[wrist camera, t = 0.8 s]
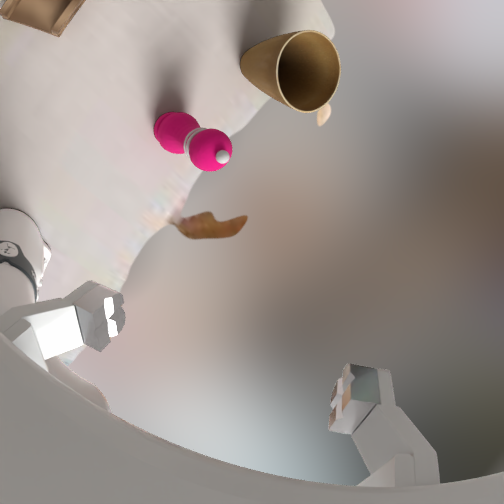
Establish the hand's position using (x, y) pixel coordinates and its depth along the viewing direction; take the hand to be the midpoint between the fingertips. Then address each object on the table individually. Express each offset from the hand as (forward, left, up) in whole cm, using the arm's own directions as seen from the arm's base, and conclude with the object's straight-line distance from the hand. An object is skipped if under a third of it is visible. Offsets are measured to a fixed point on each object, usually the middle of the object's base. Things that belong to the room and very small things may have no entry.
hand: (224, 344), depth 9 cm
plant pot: (+25, -23, -45) cm, 57 cm away
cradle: (+17, +18, -45) cm, 51 cm away
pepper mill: (+5, -15, -45) cm, 48 cm away
